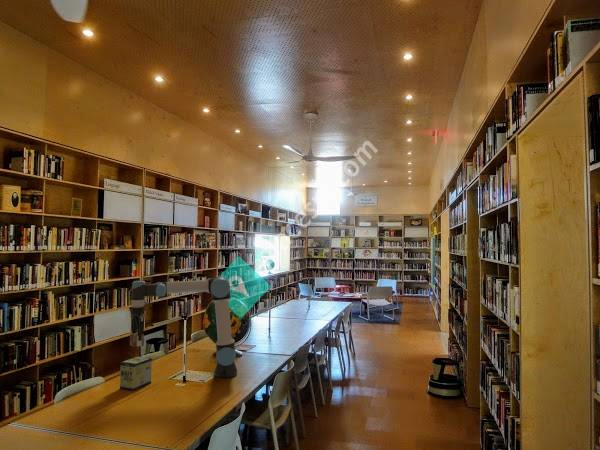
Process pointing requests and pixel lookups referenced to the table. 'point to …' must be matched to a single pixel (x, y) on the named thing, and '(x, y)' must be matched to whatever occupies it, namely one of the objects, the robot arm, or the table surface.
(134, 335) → the walnut block
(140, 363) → the protein box
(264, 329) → the table surface
